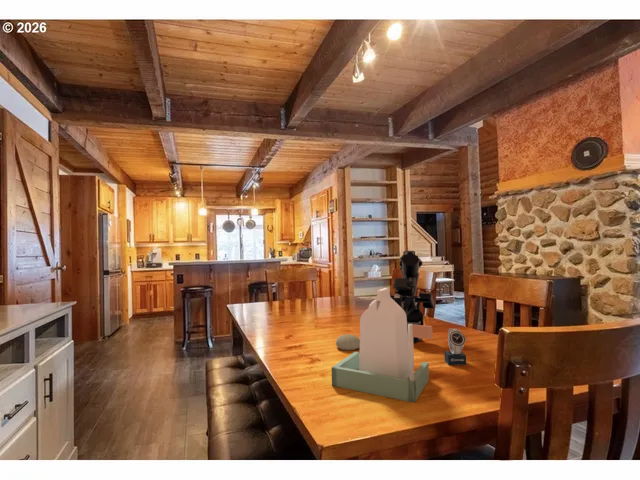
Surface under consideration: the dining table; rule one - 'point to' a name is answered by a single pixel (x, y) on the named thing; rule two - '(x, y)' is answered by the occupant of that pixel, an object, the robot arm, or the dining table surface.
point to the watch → (455, 348)
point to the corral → (385, 385)
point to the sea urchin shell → (348, 342)
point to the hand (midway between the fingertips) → (400, 320)
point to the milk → (384, 338)
